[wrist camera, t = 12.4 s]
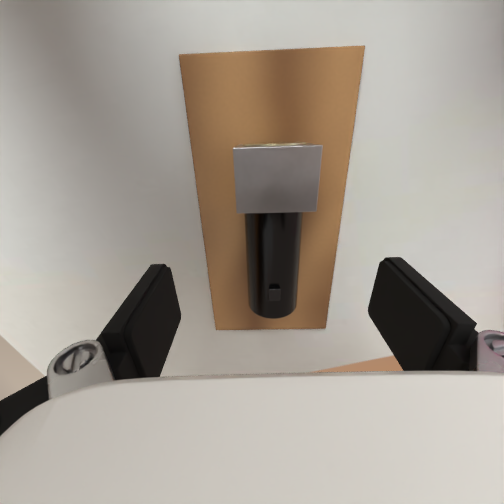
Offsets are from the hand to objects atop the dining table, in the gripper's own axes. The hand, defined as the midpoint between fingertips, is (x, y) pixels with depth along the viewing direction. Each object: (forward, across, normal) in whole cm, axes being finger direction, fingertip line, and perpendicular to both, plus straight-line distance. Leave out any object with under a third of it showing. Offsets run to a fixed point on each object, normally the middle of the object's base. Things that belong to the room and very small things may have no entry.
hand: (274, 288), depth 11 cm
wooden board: (+9, 0, 0) cm, 9 cm away
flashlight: (+9, 0, 0) cm, 9 cm away
